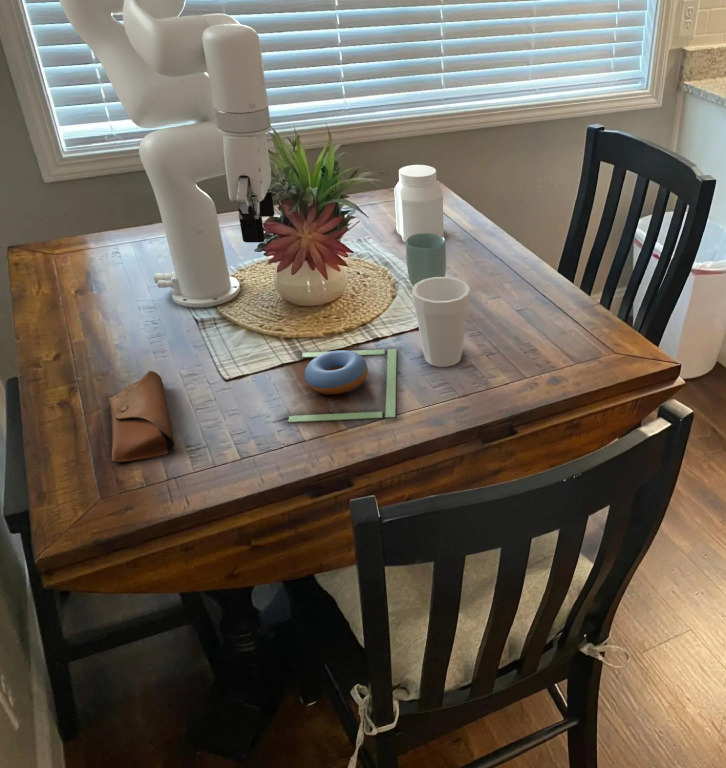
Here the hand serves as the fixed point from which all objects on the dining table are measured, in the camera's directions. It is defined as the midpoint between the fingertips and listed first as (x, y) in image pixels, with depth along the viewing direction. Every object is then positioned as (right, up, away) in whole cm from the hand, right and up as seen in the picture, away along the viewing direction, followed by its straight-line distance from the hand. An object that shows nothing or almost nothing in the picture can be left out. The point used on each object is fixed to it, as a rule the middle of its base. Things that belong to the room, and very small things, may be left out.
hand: (259, 228), depth 119 cm
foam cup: (+28, -20, +11) cm, 36 cm away
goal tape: (+12, -25, +3) cm, 28 cm away
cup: (+23, -5, +33) cm, 40 cm away
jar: (+19, +10, +55) cm, 59 cm away
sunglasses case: (-15, -31, -7) cm, 35 cm away
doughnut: (+12, -25, +3) cm, 28 cm away
